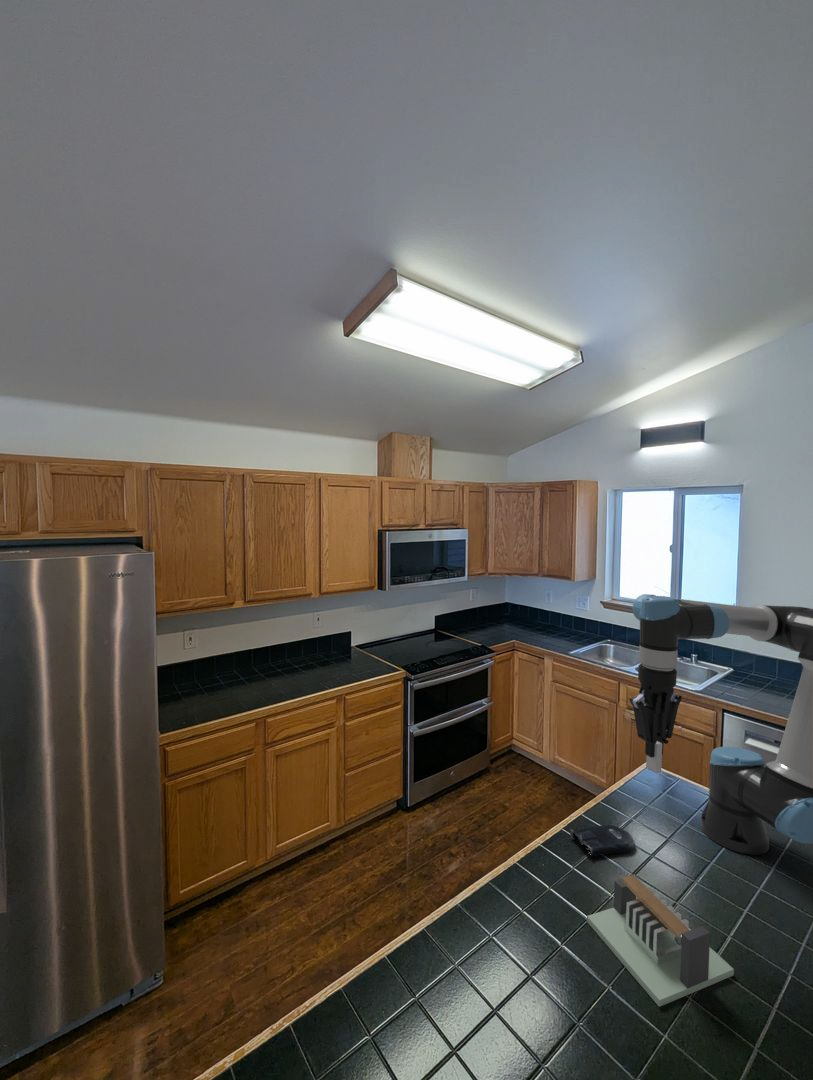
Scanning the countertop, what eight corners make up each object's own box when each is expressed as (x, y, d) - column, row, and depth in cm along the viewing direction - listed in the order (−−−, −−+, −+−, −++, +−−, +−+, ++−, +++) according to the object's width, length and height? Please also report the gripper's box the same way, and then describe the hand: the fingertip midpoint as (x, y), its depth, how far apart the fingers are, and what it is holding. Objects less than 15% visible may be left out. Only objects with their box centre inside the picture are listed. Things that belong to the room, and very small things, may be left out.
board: (653, 900, 103) (654, 856, 102) (733, 975, 86) (735, 923, 85) (586, 921, 97) (588, 875, 96) (659, 1006, 80) (661, 951, 79)
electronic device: (593, 869, 114) (643, 850, 118) (589, 846, 114) (639, 828, 118) (571, 849, 123) (617, 831, 127) (567, 827, 123) (614, 811, 127)
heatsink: (654, 919, 96) (655, 891, 96) (689, 953, 89) (690, 923, 88) (624, 929, 94) (625, 901, 93) (657, 965, 86) (658, 934, 86)
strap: (635, 878, 99) (636, 872, 99) (698, 940, 85) (698, 934, 85) (619, 883, 97) (619, 877, 97) (680, 947, 83) (680, 940, 83)
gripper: (665, 658, 109) (661, 757, 109) (621, 663, 104) (617, 765, 105) (694, 668, 102) (690, 773, 102) (648, 673, 97) (644, 783, 98)
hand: (653, 769), depth 104 cm, fingers closed
